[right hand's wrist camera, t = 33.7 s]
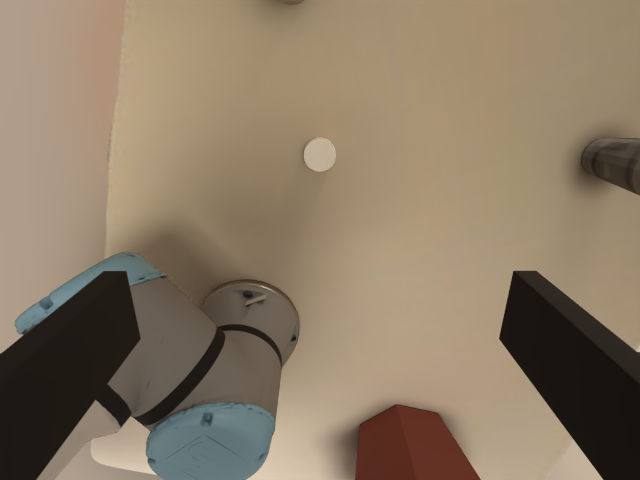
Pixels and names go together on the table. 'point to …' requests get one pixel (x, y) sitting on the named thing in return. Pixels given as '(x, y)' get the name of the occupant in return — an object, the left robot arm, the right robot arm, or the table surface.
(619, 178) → the grey cocktail shaker
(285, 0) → the bottle
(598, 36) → the table surface
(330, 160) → the cap
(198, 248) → the table surface
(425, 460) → the bucket
